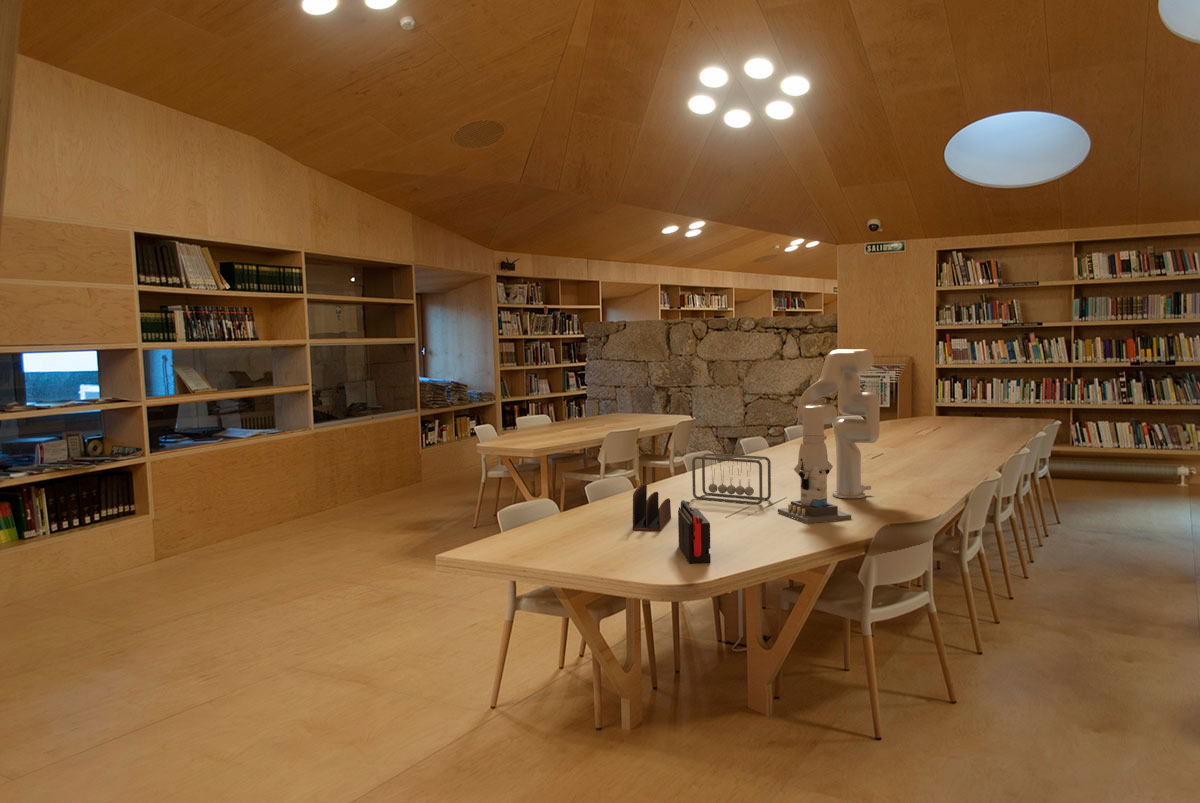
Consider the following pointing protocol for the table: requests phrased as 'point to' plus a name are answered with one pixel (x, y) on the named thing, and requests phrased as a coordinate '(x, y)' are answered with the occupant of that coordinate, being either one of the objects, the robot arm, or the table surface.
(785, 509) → the dock board
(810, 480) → the ink box
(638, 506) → the letter holder
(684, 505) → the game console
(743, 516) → the table surface
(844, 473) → the robot arm
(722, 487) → the newton's cradle
